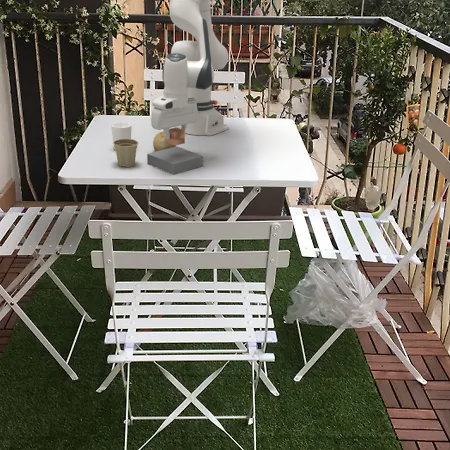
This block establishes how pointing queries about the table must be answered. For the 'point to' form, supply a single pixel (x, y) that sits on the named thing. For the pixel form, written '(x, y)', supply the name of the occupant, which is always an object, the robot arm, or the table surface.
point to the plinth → (175, 160)
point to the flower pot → (125, 151)
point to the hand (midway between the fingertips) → (175, 137)
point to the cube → (176, 136)
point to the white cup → (121, 131)
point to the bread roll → (161, 142)
